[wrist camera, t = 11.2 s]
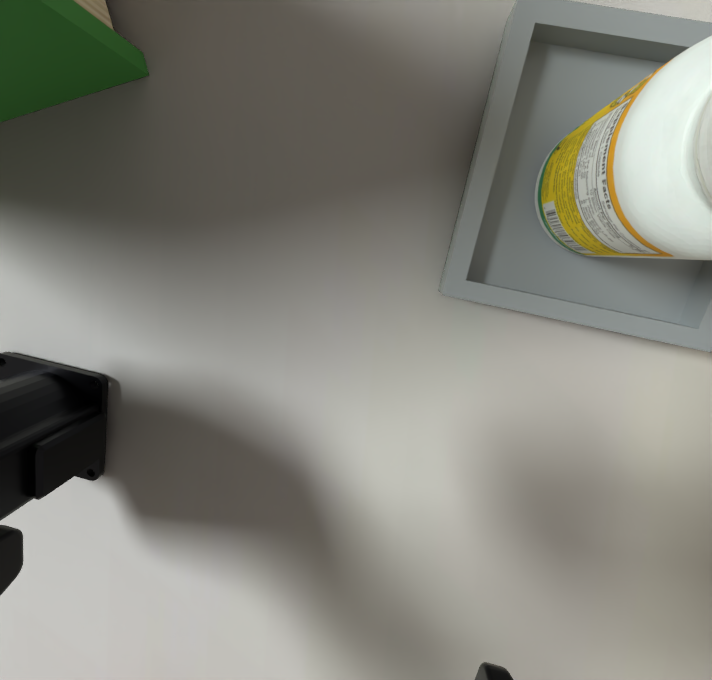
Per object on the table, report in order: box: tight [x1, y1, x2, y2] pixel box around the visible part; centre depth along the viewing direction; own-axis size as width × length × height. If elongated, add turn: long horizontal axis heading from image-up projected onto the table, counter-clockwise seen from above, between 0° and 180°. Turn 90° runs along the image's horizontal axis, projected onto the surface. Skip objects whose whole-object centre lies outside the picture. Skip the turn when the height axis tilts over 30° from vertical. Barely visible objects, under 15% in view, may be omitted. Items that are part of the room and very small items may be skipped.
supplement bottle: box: [535, 36, 712, 260], centre depth 11 cm, size 5×5×10 cm
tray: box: [439, 0, 712, 352], centre depth 16 cm, size 11×11×2 cm
